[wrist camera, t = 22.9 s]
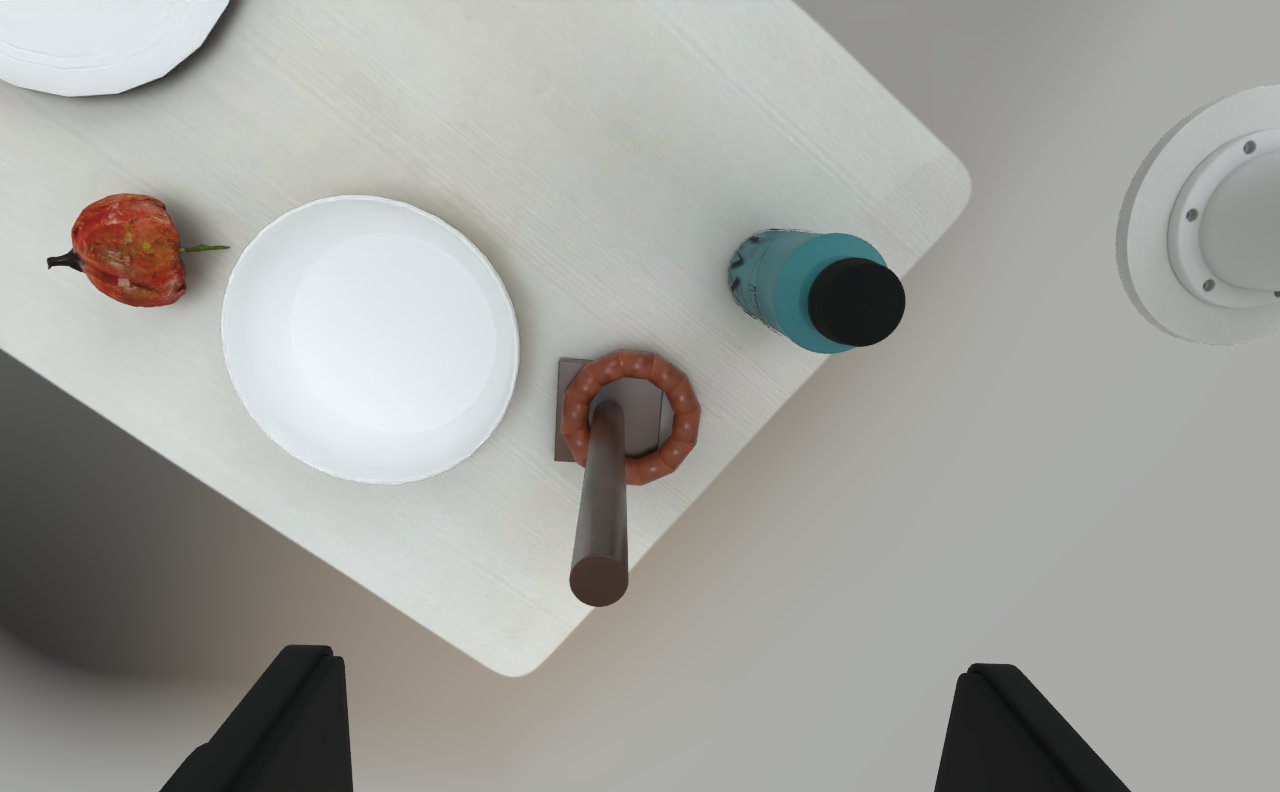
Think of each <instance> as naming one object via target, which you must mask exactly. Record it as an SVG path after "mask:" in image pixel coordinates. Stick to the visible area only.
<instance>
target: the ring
mask: <svg viewBox="0 0 1280 792" xmlns="http://www.w3.org/2000/svg"><path fill="white" fill-rule="evenodd" d="M623 377H627V378H636V379H646V380H648V381H650V382H651V383H652V384H654V385H655V386H657V387H658V388H659V389H661V390H662V391H664V392H665V393H666V395H667V398H668V400H669V402H670V404H671V407H672V409H673V411H674V416H673V424H672V431H671V434H670V436H669V437H668V438H667V439H666V441H665V442H664V443H663V445H662V446H661V447H660V448H659V450H658V451H656V452H653V453H651V454H649V455H646V456H644V457H641V458H639V459H629V458H625V464H626V484H627V485H638V486H641V485H644V484H647V483H649V482H652V481H654V480H656V479H659V478H661V477H664V476H666V475H668V474H671V473H673V472H674V471H675V470H676V469H677V468H678V467H679V465H680V464H681V463H682V462H683V460H684V459H685V458H686V456H687V455H688V454H689V453H690V451H691V450H692V449H693V448H694V446H695V445H696V442H697V436H698V429H699V422H700V415H701V407H700V404H699V402H698V400H697V397H696V395H695V393H694V390H693V388H692V386H691V383H690V381H689V379H688V377H687V375H686V374H684V373H683V372H682V371H680V370H679V369H678V368H676V367H675V366H674V365H672V364H671V363H669V362H668V361H667V360H665V359H664V358H663V357H661V356H660V355H658V354H655V353H648V352H638V351H629V350H618V351H615V352H613V353H610V354H608V355H606V356H604V357H601V358H599V359H597V360H594V361H592V362H590V363H588V364H586V365H585V366H584V367H583V368H582V370H581V371H580V372H579V374H578V375H577V376H576V378H575V379H574V380H573V382H572V383H571V385H570V386H569V387H568V389H567V390H566V391H565V393H564V396H563V404H562V416H561V433H562V435H563V437H564V439H565V441H566V443H567V445H568V447H569V449H570V451H571V453H572V455H573V458H574V460H575V461H576V462H577V463H578V464H579V465H580V466H582V467H583V468H585V467H586V460H587V453H588V446H589V439H590V430H589V428H588V426H587V424H588V414H589V404H590V403H591V401H592V400H593V399H594V397H595V396H596V395H597V393H598V392H599V391H600V389H601V388H602V387H603V386H605V385H607V384H609V383H612V382H614V381H616V380H619V379H621V378H623Z"/></svg>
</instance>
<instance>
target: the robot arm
mask: <svg viewBox="0 0 1280 792" xmlns="http://www.w3.org/2000/svg"><path fill="white" fill-rule="evenodd" d="M1167 237H1168V253H1169V257H1170V261H1171V265H1172V268H1173V270H1174V272H1175V274H1176V276H1177V278H1178V280H1179V281H1180V282H1181V284H1182V285H1183V286H1184V287H1185V288H1186V290H1187V291H1188V292H1190V293H1191V294H1192V295H1194V296H1195V297H1197V298H1198V299H1199V300H1202V301H1204V302H1206V303H1209V304H1211V305H1215V306H1220V307H1226V308H1235V309H1251V308H1259V307H1263V306H1267V305H1270V304H1273V303H1277V302H1279V301H1280V128H1273V129H1266V130H1260V131H1255V132H1252V133H1249V134H1246V135H1242V136H1239V137H1237V138H1236V139H1234V140H1232V141H1230V142H1228V143H1226V144H1224V145H1222V146H1221V147H1220V148H1218V149H1217V150H1216V151H1214V152H1213V153H1212V154H1210V155H1209V156H1208V157H1207V158H1206V159H1205V160H1204V161H1203V162H1202V163H1201V164H1200V165H1199V166H1198V167H1197V168H1196V169H1195V170H1194V172H1193V173H1192V174H1191V176H1190V177H1189V178H1188V180H1187V181H1186V183H1185V184H1184V186H1183V187H1182V189H1181V191H1180V193H1179V195H1178V197H1177V199H1176V201H1175V204H1174V207H1173V210H1172V214H1171V217H1170V221H1169V228H1168V236H1167ZM346 694H347V693H346V678H345V665H344V660H343V658H342V657H340V656H333V651H332V649H331V647H329V646H324V645H288V646H286V647H285V648H284V649H283V650H282V651H281V652H280V653H279V654H278V656H277V657H276V658H275V659H274V661H273V662H272V663H271V664H270V666H269V667H268V668H267V669H266V671H265V672H264V673H263V674H262V676H261V677H260V678H259V679H258V681H257V682H256V683H255V684H254V686H253V687H252V688H251V689H250V691H249V692H248V693H247V694H246V696H245V697H244V698H243V699H242V701H241V702H240V703H239V705H238V706H237V707H236V708H235V709H234V711H233V712H232V713H231V714H230V716H229V717H228V718H227V719H226V721H225V722H224V723H223V724H222V726H221V727H220V728H219V729H218V731H217V732H216V733H215V734H214V736H213V737H212V738H211V739H210V741H209V742H208V743H205V744H203V745H201V746H199V747H197V748H196V749H195V750H194V751H193V752H192V753H191V754H190V755H189V756H188V757H187V758H186V759H185V761H184V762H183V763H182V764H181V766H180V767H179V768H178V769H177V770H176V772H175V773H174V774H173V775H172V777H171V778H170V779H169V780H168V781H167V783H166V784H165V785H164V786H163V788H162V789H161V790H160V791H159V792H353V781H352V766H351V752H350V737H349V722H348V708H347V695H346ZM934 792H1131V791H1130V790H1129V789H1128V788H1127V787H1126V786H1125V785H1124V783H1122V781H1121V780H1120V779H1119V778H1118V777H1117V776H1116V775H1115V774H1114V772H1113V771H1112V770H1111V769H1110V768H1109V767H1108V766H1107V765H1106V764H1105V763H1104V761H1103V760H1102V759H1101V758H1100V757H1099V756H1098V755H1097V754H1096V753H1095V752H1094V751H1093V750H1092V748H1091V747H1090V746H1089V745H1088V744H1087V743H1086V742H1085V741H1084V740H1083V739H1082V737H1081V736H1080V735H1079V734H1078V733H1077V732H1076V731H1075V730H1074V729H1073V728H1072V726H1071V725H1070V724H1069V723H1068V722H1067V721H1066V720H1065V719H1064V718H1063V717H1062V715H1061V714H1060V713H1059V712H1058V711H1057V710H1056V709H1055V708H1054V707H1053V706H1052V705H1051V704H1050V702H1048V700H1047V699H1046V698H1045V697H1044V696H1043V695H1042V694H1041V693H1040V691H1039V690H1038V689H1037V688H1036V687H1035V686H1034V685H1033V684H1032V683H1031V682H1030V680H1028V678H1027V677H1026V676H1025V675H1024V674H1023V673H1022V672H1021V671H1020V670H1019V669H1018V668H1017V667H1016V666H1014V665H1010V664H982V663H976V664H972V665H971V666H970V667H969V668H968V671H967V673H963V674H961V675H960V676H959V678H958V681H957V685H956V690H955V695H954V699H953V704H952V709H951V714H950V718H949V724H948V728H947V733H946V738H945V742H944V747H943V752H942V757H941V761H940V766H939V771H938V775H937V781H936V785H935V790H934Z"/></svg>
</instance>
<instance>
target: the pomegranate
mask: <svg viewBox="0 0 1280 792" xmlns="http://www.w3.org/2000/svg"><path fill="white" fill-rule="evenodd" d="M71 236H72V244H73V248H72V250H71V251H70V252H69V253H67V254H65V255H63V256H59V257H50V258H47V264H48V270H49V269H50V268H51V267H52V266H70V267H71V268H73V269H75V270H78V271H80V272H84V273H86V275H87V277H88V279H89V280H90V281H91V283H92V284H93V285H94V286H95V287H96V288H97V289H98V290H99V291H101V292H102V293H104V294H106V295H107V296H109V297H111V298H113V299H115V300H117V301H119V302H121V303H124V304H127V305H131V306H135V307H139V306H142V307H155V306H163V305H170V304H173V303H175V302H176V301H177V300H178V299H179V298H180V297H181V296H182V295H183V294H184V293H185V291H186V287H187V286H186V283H185V282H184V278H185V275H186V272H185V265H184V263H183V261H182V260H181V259H180V255H179V252H185V253H188V252H196V251H203V250H215V249H227V248H230V247H227V246H213V247H210V246H206V245H199V246H197V247H194V248H180V244H179V236H178V233H177V230H176V227H175V226H174V224H173V223H172V220H171V218H170V216H169V215H168V213H167V212H166V210H165V205H164V204H163V203H162V202H161V201H159V200H157V199H155V198H152V197H150V196H147V195H136V194H128V193H127V194H116V195H110V196H107V197H105V198H103V199H101V200H99V201H96V202H94V203H92V204H90V205H89V206H87V207H86V208H85V209H84V210H83V211H82V212H81V214H80V215H79V217H78V218H77V220H76V222H75V224H74V226H73V228H72V233H71Z"/></svg>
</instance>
